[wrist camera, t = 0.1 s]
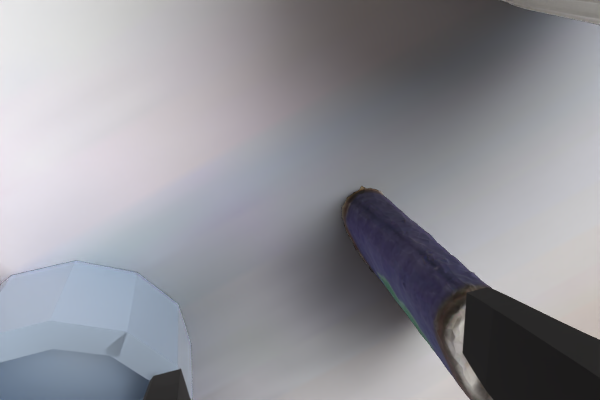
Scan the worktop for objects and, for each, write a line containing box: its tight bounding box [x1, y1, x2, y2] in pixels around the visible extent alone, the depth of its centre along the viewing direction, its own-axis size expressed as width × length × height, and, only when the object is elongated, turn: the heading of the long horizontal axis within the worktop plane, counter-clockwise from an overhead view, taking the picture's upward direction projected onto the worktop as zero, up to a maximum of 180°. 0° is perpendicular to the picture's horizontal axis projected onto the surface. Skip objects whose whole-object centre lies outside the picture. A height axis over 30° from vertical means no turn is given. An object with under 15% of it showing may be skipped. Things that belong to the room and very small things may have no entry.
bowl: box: [0, 261, 193, 400], centre depth 18 cm, size 10×10×4 cm
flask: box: [342, 186, 493, 400], centre depth 18 cm, size 9×3×11 cm, turn 36°
